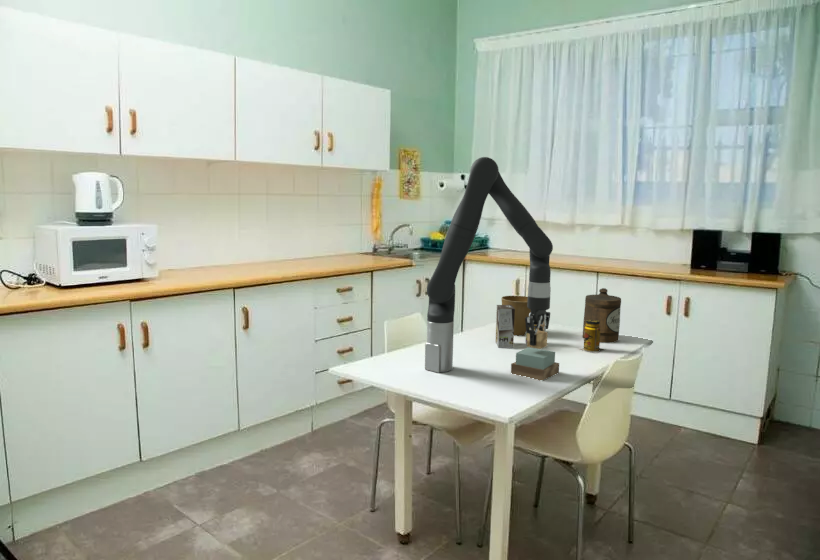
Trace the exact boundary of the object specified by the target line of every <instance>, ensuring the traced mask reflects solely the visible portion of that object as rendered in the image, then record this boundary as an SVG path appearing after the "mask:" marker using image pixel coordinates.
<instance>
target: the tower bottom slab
mask: <svg viewBox="0 0 820 560" xmlns="http://www.w3.org/2000/svg"><path fill="white" fill-rule="evenodd" d="M511 373H512V374H511ZM557 373H558V374H559V373H560V363H559V362H555V363H554V364H552V365H550V366H549V367H547V368H545V369H544V370H542V369H537V368H532V367H527V366H521V365H516V361H514V362H513V363H511V364H510V374H511V375H514V374H516V376H519V375H521V376H520V377H523V376H526V377H525V378H527V377H530V378H529V379H532V378H534V379H533V380H536V379H538V380H537V381H540V380H544V379H546V378H548V377H550V378H551V376H552V377H554V376H556V375H558V374H557ZM555 374H556V375H555ZM553 375H554V376H553ZM548 379H549V378H548ZM546 380H547V379H546ZM544 381H545V380H544Z"/></svg>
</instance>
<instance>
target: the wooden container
mask: <svg viewBox="0 0 820 560" xmlns="http://www.w3.org/2000/svg"><path fill="white" fill-rule="evenodd" d="M598 292H599V293H598V294H587V295H586V296H585V300H584V301H585V302H584V313H583V322H582V323H583V324H582V325H583V326H582V338H583V339H584V331H585V327H586V320H598V321H600V344H601V343H603V344H604V343H605V344H606V343H607V344H609V343H611V344H612V343H616V342H618V341H619V339H620V338H619V336H620V324H621V307H622V306H621V305H622V298H621V297H620V296H616V295H610V294H608V289H607V288H605V287H602V288H600V289H599V291H598Z"/></svg>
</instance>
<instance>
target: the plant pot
mask: <svg viewBox="0 0 820 560" xmlns="http://www.w3.org/2000/svg"><path fill="white" fill-rule="evenodd" d="M527 300H528V296H525V295H504V296H503V295H502V296H501V305H512V306H513V307H514V308H515V319H514V336H515V335H517V336H518V337H520V336H519V335H522V336H526V323H525V317H529V313H531V310H530V309H529V308H528V307H527Z"/></svg>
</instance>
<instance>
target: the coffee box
mask: <svg viewBox="0 0 820 560" xmlns="http://www.w3.org/2000/svg"><path fill="white" fill-rule="evenodd" d="M495 311H496V312H495V313H496V315H495V316H496V317H495V344H496V346H497V348H501V349H504V348H505V349H513V348H514V339H515V338H514V336H515V335H514V319H515V308H514V307H513V306H512V305H502V304H496V310H495Z"/></svg>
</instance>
